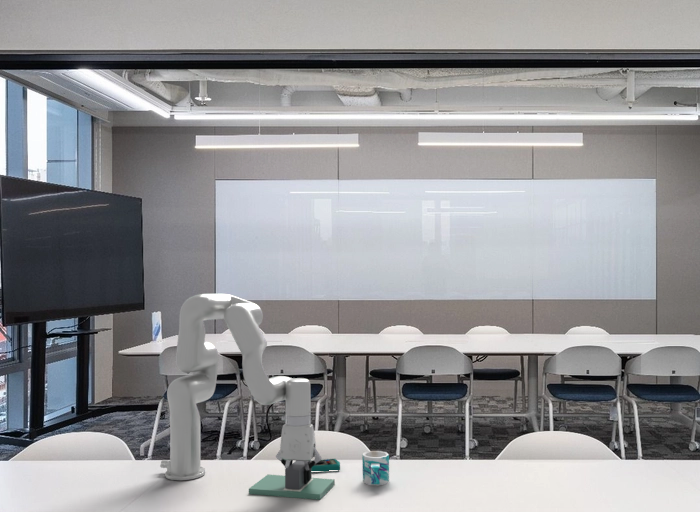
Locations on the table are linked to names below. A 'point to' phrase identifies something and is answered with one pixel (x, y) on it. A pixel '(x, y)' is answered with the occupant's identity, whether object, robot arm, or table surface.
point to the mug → (375, 467)
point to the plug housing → (295, 475)
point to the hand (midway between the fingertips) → (298, 481)
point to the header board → (276, 487)
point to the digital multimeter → (326, 465)
